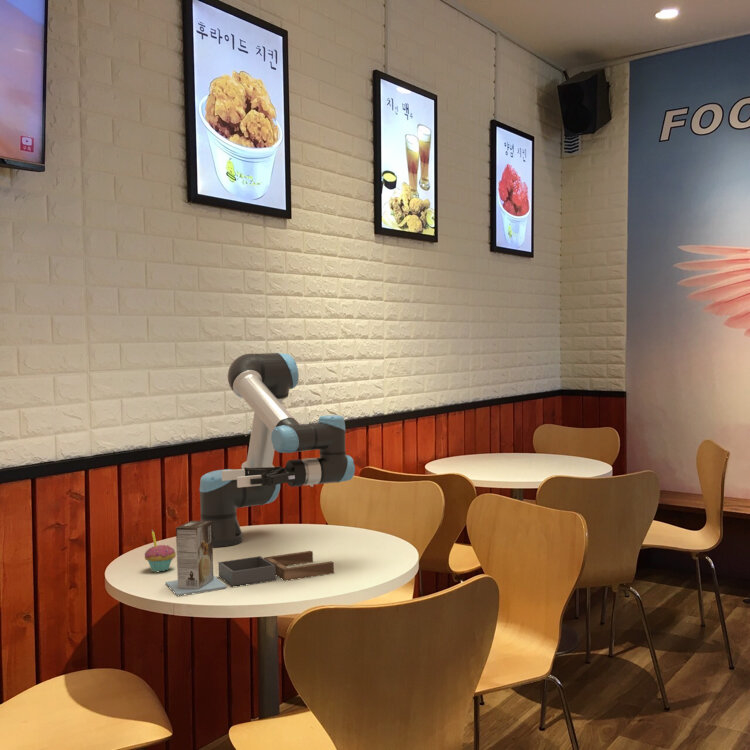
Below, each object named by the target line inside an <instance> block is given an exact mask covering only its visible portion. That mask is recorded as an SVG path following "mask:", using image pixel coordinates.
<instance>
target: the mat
mask: <svg viewBox="0 0 750 750" xmlns="http://www.w3.org/2000/svg"><path fill="white" fill-rule="evenodd" d="M165 583H166V584H167V585H168V586H169V587H170V588H171V589H172V590H173V591H174V592H175V593H174V592H173V591H172V590H171V589H170V588H169V587H168V586H167V585H166V584H165V585H166V586H167V587H168V588H169V589H170V590H171V591H172V592H173V593H174V595H176V597H179V596H178V595H183V596H185V595H184V594H189V595H193V594H192V593H196V594H199V593H198V592H202V593H206V592H205V591H208V592H212V591H211V590H215V591H218V590H217V589H221V590H224V589H223V588H227V589H228V586H227V584H225V583H224V582H222V581H221V580H220V579H218V578H217V577H216V576H215V575H213V580H212V581H210V582H209V583H207V584H206V585H204V586H203V587H201V588H200V589H187V588H178V579H175V580H169V581H165Z"/></svg>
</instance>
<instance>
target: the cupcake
mask: <svg viewBox="0 0 750 750" xmlns="http://www.w3.org/2000/svg"><path fill="white" fill-rule="evenodd" d="M151 536H152V540H153V545H154V546H152V547H149V548H148V549H147V550H146V551H145V553H144V560H146V561H148V564H149V567H150V570H151V571H152V570H153V571H165V570H167V571H169V570H170V566H171V562H172V560H174V558H176V557H177V553H176V551H175V549H174V548H173V547H171V546H170V545H168V544H167V545H165V544H158V545H157V540H156V535H155V531H154V530H153V529H151ZM168 569H169V570H168ZM165 572H166V571H165Z"/></svg>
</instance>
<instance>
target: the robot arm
mask: <svg viewBox="0 0 750 750" xmlns="http://www.w3.org/2000/svg"><path fill="white" fill-rule="evenodd" d="M299 376H300V375H299V368H298V365H297V362H296V359H294V357H293V356H292V355H291V354H288V353H279V352H269V353H268V352H266V353H245V354H242V355H239V356H238V357H237V358H235V359H234V360H233V362H231V364H230V366H229V368H228V371H227V382H228V385H229V387H230V389H231V390H232V392H233V394H235V396H237V397H238V398H242V399H243V400H244V401H245V402H246V404H247V405H248V406H249V407H250V408H251V409H252V410H253V419H252V424H251V425H252V427H251V430H250V431H251V432H250V437H249V444H248V445H249V446H248V452H247V457H246V461H244V462H243V463H242V464H241V468H240V469H238V468H237V469H233V468H232V469H231V468H227V469H226V468H225V469H217V470H213V471H209V472H207V473H204V474H203V475H202V476H201V477H200V481H199V482H200V484H199V499H200V500H199V501H200V502H199V503H200V504H199V505H200V521H212V547H213V548H220V547H221V548H222V547H229V546H235V545H238V544H241V543H242V542H243V531H242V529H241V527H240V523H239V521H238V518H237V509H240V508H245V507H246V508H247V507H252V506H264V505H266V504H271V503H272V502H274V501H275V500H276V499H277V498H278V496H279V493H280V490H281V484H286V483H287V485H288V486H289V487H291V488H294V487H303V486H310V487H311V488H313V487H314V485H321V484H322V485H323V484H333V483H335V484H336V483H343V482H347V481H351V480H352V479H353V478H354V476H355V472H356V465H355V463H354V462H355V461H354V459H353V457H352V456H350V455H347V452H346V423H345V417H344V416H343V415H340V414H339V415H337V414H329V415H321V416H319V417H318V422H314V423H313V422H312V423H305V424H303V423H302V424H301V423H299V422H298V420H297V419H295V417H294V416H293V415H292V414H291V412H289V411H288V410H287V409H286V407H285V406H284V404H283V401H285V399H287V398H288V397H289V393H290V390H292V389H295V388H296V387H297V385H298V382H299V378H300V377H299ZM315 450H316V451H317V450H318V451H319V457H309V458H302V459H300V458H299V459H289V460H287V461H286V464H285V467H282V466H274V464H273V461H274V456H275V451H276V452H278V453H280V454H282V453H283V454H284V453H285V454H292V453H298V452H306V451H307V452H308V451H315Z"/></svg>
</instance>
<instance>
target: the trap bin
mask: <svg viewBox="0 0 750 750" xmlns="http://www.w3.org/2000/svg"><path fill="white" fill-rule="evenodd" d="M217 564H218V565H217V566H218V577H219V576H220V577H221V578H222V579H221V578H220V577H219V578H220V579H221V580H223V581H224V580H225V581H226V582H227V583H226V582H225V581H224V582H225V583H226V584H228V585H229V584H230V585H231V586H230V585H229V586H230V587H231V588H234V587H233V586H237V587H241V586H240V585H243V586H247V585H246V584H250V585H255V584H254V583H256V584H261V583H260V582H262V583H267V582H266V581H268V582H273V581H272V580H275V581H277V576H276V566H275V565H274V564H272V563H270V562H269V561H267V560H266V559H264V557H262V556H253V557H251V556H250V557H246V558H240V559H231V560H224V561H218V563H217Z"/></svg>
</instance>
